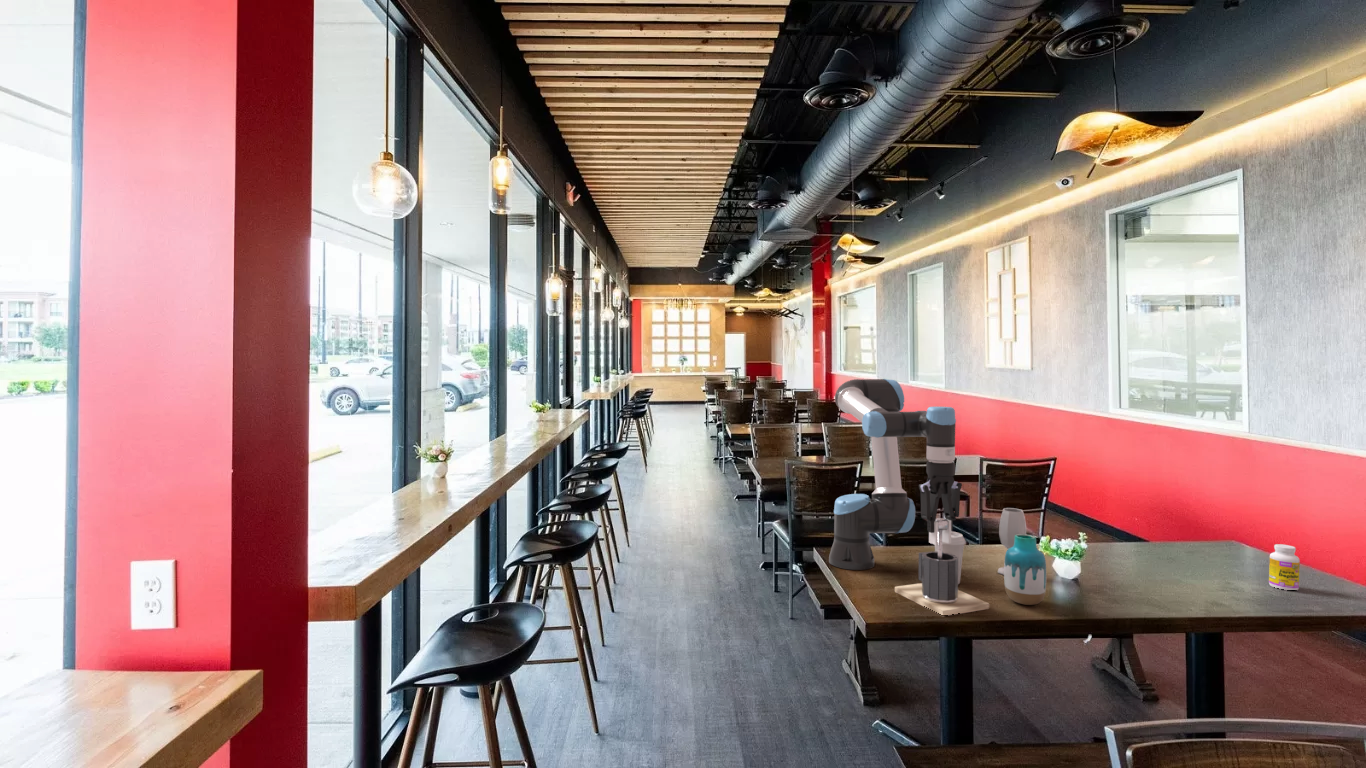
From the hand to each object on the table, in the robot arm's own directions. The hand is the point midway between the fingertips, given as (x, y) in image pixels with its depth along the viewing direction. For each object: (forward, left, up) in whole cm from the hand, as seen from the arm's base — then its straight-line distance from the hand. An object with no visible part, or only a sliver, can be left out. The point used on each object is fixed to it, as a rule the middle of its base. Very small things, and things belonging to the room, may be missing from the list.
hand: (940, 542), depth 179 cm
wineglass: (-13, +41, -18) cm, 46 cm away
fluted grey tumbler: (-1, 0, -16) cm, 16 cm away
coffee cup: (-14, +16, -18) cm, 28 cm away
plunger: (0, 0, -14) cm, 14 cm away
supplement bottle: (+25, +108, -18) cm, 112 cm away
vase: (+8, +23, -18) cm, 30 cm away
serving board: (-2, +2, -17) cm, 18 cm away
